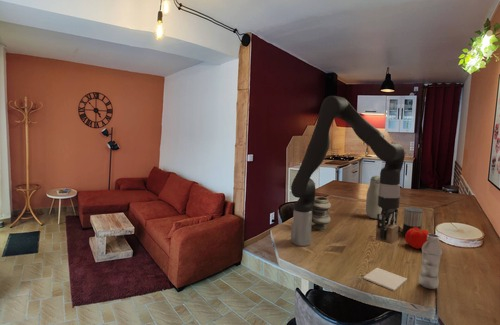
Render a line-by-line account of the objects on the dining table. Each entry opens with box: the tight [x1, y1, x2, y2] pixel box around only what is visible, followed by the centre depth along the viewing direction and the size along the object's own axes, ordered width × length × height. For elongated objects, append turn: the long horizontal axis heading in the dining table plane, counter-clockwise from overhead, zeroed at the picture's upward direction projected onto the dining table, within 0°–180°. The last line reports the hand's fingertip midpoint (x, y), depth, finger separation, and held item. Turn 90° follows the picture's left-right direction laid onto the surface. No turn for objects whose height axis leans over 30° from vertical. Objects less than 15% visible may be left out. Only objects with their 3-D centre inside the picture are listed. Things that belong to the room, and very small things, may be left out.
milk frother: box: [395, 206, 424, 236], centre depth 167 cm, size 14×16×15 cm
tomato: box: [404, 227, 430, 250], centre depth 148 cm, size 11×12×9 cm
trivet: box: [362, 267, 408, 292], centre depth 116 cm, size 12×12×1 cm
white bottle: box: [365, 175, 382, 220], centre depth 193 cm, size 10×10×28 cm
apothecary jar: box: [311, 195, 332, 232], centre depth 173 cm, size 12×12×18 cm
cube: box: [375, 223, 399, 245], centre depth 116 cm, size 6×6×6 cm
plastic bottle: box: [418, 233, 443, 290], centre depth 110 cm, size 6×7×20 cm
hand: (386, 236), depth 116 cm, fingers closed on cube, 6 cm apart
